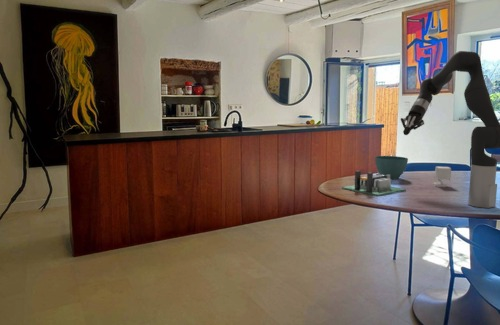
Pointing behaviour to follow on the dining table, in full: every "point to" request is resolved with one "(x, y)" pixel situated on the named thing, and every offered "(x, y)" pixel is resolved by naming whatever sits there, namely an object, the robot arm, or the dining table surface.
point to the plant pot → (391, 165)
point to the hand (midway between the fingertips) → (405, 134)
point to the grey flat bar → (374, 177)
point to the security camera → (442, 175)
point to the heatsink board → (373, 185)
